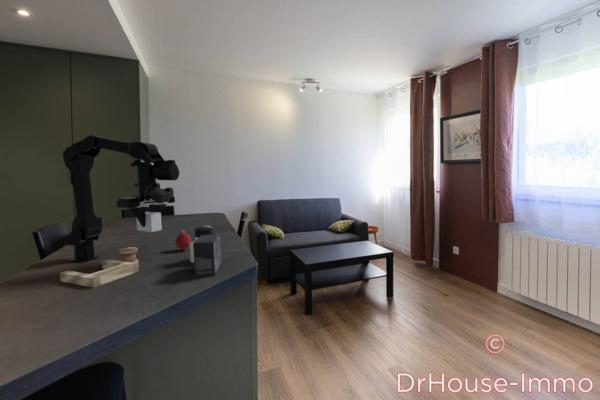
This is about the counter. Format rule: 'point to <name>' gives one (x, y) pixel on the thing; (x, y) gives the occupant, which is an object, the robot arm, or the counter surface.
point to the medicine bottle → (198, 232)
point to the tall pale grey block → (150, 222)
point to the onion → (183, 240)
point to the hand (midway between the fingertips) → (149, 225)
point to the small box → (207, 255)
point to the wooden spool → (129, 254)
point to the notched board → (101, 273)
